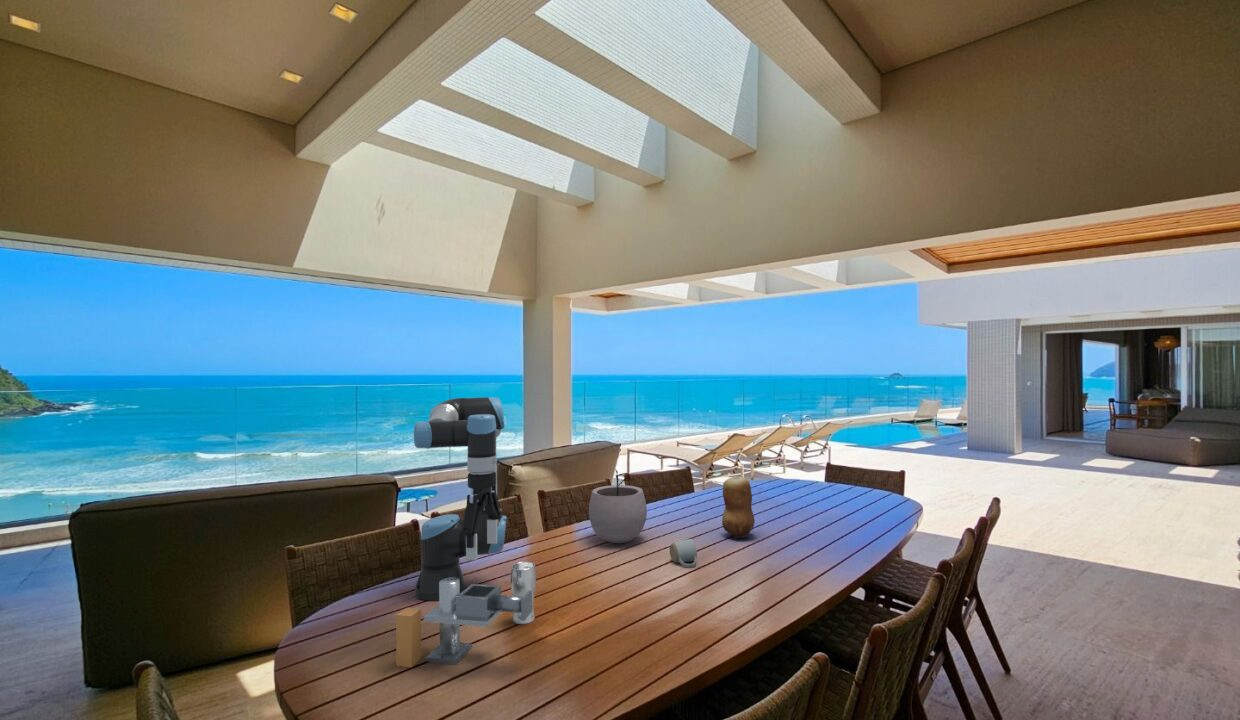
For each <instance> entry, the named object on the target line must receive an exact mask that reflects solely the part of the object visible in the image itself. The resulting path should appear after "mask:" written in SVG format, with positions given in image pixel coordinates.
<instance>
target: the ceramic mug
mask: <svg viewBox="0 0 1240 720" xmlns="http://www.w3.org/2000/svg"><path fill="white" fill-rule="evenodd" d="M669 554H670V555H669V556H670V557H671V560H672V562H673V563H675V564H680V565H681V566H682V567H685V568H687V569H689V568H694V567H696V564H697V557H698V551H697V546H696V544H695V541H694V540H693V539H692V538H688V539H684V540H680V541H675V542H673V543H671V544H670V546H669ZM690 562H692V563H690Z"/></svg>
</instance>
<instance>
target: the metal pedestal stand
mask: <svg viewBox="0 0 1240 720" xmlns="http://www.w3.org/2000/svg"><path fill="white" fill-rule="evenodd" d="M459 594H460V583H459V578H456V577H449V578H445V579H442V580H440V582H439V600H438V601H439V602H438V604H437V605H436V606H435V607H434V608H432V609H431V610H429V612H427V613H426V614H425V615H424V616H423V622H425V623H436V624H439V626H438V627H439V644H438V645H437V646H436V647H435V648H434V649H433V650H432V651H431V652H430V653H429V654H428V655H427V656H426V657H425V661H426V662H428V663H429V662H430V663H437V664H438V663H440V664H447V665H448V664H449V665H458V664H459V663H460V661H462V660H463V658H464V657H465V656H466V655H467V654H468V653H469V652H470V651H471V650H472V649H473V642H472V643H471V642H461V636H460V635H461V633H460V632H461V629H460V628H461V626H471V627H484V628H489V626H490V625H491V624H492V623H493V622H494V620H496V619H497V618H498V616H499V615H500V614H501V613H502V612H501V611H495V612H494V613H493V614H492V615H491V616H490V617H489V618H488V619H487V620H484V619H472V618H461V617H456V597H457V596H458V595H459Z"/></svg>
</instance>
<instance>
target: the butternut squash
mask: <svg viewBox="0 0 1240 720" xmlns="http://www.w3.org/2000/svg"><path fill="white" fill-rule="evenodd" d="M722 496H723V498H722V499H723V501H724V502H723V503H724V511H723V513H722V518H721V520H722V521H721V525H722V528H723V529H724V531H725V532H727V533H728V534H729V535H730V536H731V537H734V538H737V539H739V538H741V539H742V538H746V537H748V536H749V535H750V533H751V532H752V529H753V528H754V527H755V516H754V513H753V509H752V508H753V506H752V502H753V494H752V488H751V483H750V481H749V479H748V478H746V477H745V476H734V477H730V478H727V479H725V480H724V482H723V484H722Z"/></svg>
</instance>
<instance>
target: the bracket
mask: <svg viewBox="0 0 1240 720" xmlns="http://www.w3.org/2000/svg"><path fill="white" fill-rule="evenodd" d="M495 611H501V613H502V612H503V613H512V614H514V613H521V620H522V621H525V620H526V618H527V617H528V616H529V615H530V614H531V612H532V591H528V592H527V593H526V594H525V595H524V597H519V596H512V595H506V594H502V585H493V584H492V585H491V584H480V583H479V584H478V583H471V584H470V585H469V586H468V587H465V589H464V591H463V592H461V593H460V594H459V595H458V596H457V597H456V617H461V618H472V619H484V620H487V619H488V618H489V617H490V616H491V615H492V614H493V613H494V612H495Z"/></svg>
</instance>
